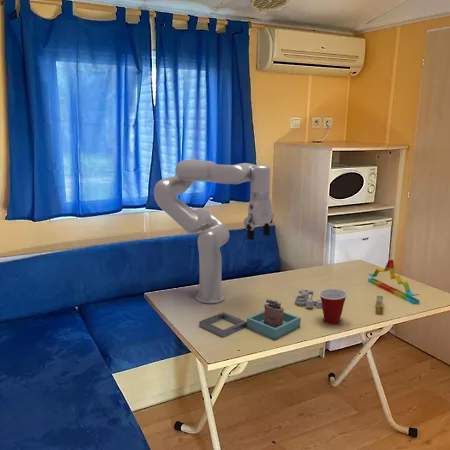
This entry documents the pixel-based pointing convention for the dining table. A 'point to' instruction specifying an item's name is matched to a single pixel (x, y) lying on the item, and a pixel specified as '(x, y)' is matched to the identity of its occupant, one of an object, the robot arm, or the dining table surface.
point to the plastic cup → (332, 304)
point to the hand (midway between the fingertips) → (258, 237)
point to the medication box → (379, 305)
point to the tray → (258, 326)
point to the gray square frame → (223, 333)
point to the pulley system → (308, 303)
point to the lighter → (273, 313)
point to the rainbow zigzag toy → (405, 296)
